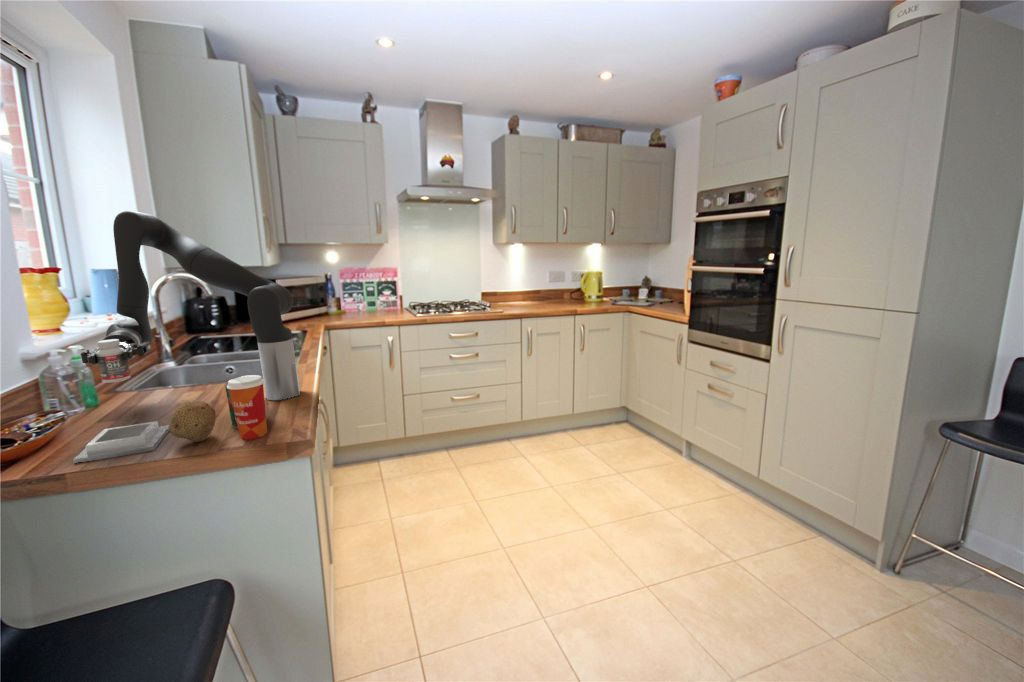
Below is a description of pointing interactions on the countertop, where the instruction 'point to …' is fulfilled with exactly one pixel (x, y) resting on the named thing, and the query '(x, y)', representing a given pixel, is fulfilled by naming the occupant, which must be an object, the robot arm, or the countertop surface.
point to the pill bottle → (112, 361)
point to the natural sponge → (193, 420)
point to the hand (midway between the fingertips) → (109, 357)
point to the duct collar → (123, 441)
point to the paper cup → (248, 405)
